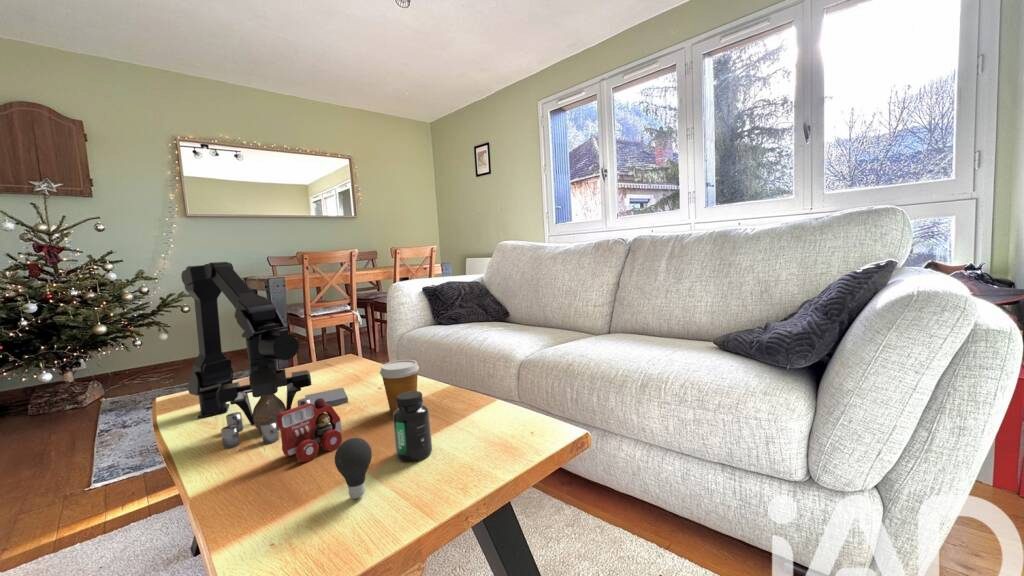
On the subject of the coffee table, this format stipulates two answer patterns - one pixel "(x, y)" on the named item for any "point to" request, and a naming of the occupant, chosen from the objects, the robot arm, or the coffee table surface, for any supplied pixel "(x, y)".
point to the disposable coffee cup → (399, 379)
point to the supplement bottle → (412, 428)
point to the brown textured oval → (267, 410)
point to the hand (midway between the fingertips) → (270, 420)
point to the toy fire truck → (309, 430)
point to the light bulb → (354, 464)
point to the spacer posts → (236, 425)
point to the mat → (330, 397)
